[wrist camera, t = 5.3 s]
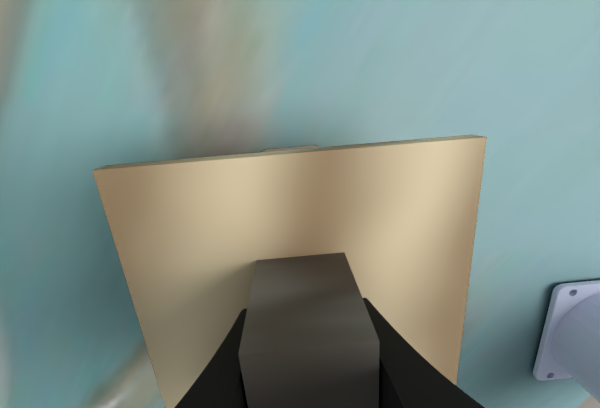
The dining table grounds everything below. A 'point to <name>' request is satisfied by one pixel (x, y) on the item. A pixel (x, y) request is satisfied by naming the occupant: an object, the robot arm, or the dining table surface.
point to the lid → (299, 262)
